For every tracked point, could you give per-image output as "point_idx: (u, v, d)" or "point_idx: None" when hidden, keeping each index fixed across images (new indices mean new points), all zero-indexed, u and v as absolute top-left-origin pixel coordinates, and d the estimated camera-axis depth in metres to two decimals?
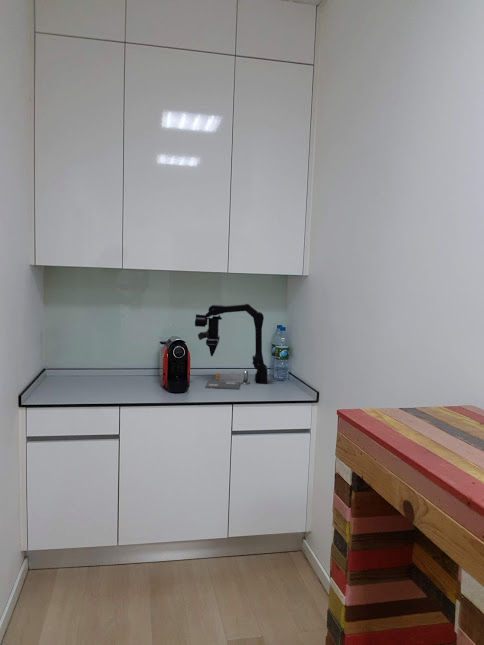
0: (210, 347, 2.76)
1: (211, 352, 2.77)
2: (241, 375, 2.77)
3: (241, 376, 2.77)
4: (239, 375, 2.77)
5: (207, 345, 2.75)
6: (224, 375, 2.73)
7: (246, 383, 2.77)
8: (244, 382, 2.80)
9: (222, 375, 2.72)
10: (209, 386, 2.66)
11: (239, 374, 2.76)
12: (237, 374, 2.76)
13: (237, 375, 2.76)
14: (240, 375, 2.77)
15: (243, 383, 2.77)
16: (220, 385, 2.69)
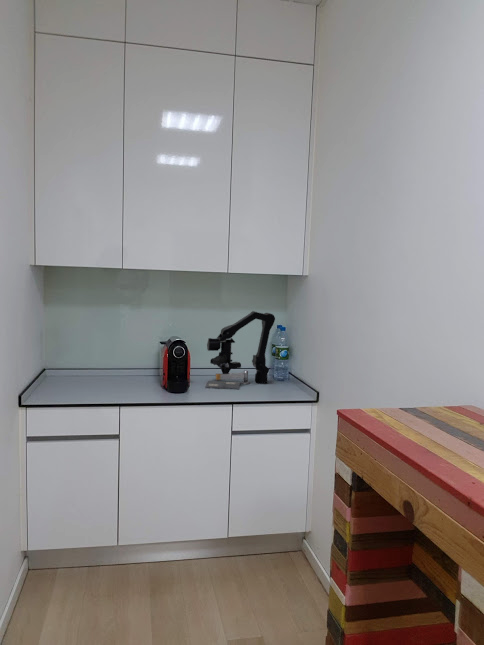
0: (226, 370, 2.75)
1: None
2: (241, 375, 2.77)
3: (241, 376, 2.77)
4: (239, 375, 2.77)
5: (225, 368, 2.73)
6: (224, 375, 2.73)
7: (246, 383, 2.77)
8: (244, 382, 2.80)
9: (222, 375, 2.72)
10: (209, 386, 2.66)
11: (239, 374, 2.76)
12: (237, 374, 2.76)
13: (237, 375, 2.76)
14: (240, 375, 2.77)
15: (243, 383, 2.77)
16: (220, 385, 2.69)
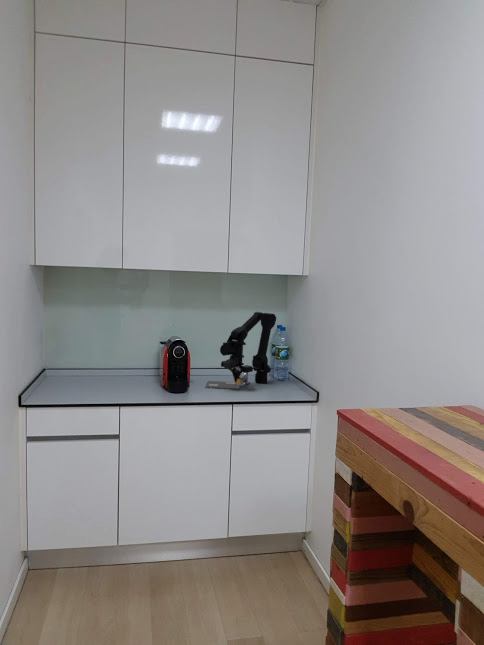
0: (237, 373, 2.67)
1: (236, 378, 2.68)
2: (246, 376, 2.76)
3: (246, 377, 2.76)
4: (245, 376, 2.75)
5: (236, 372, 2.65)
6: (242, 379, 2.66)
7: (246, 383, 2.77)
8: (244, 382, 2.80)
9: (241, 379, 2.65)
10: (209, 386, 2.66)
11: (245, 375, 2.74)
12: (245, 375, 2.73)
13: (245, 376, 2.73)
14: (245, 376, 2.75)
15: (243, 383, 2.77)
16: (220, 385, 2.69)
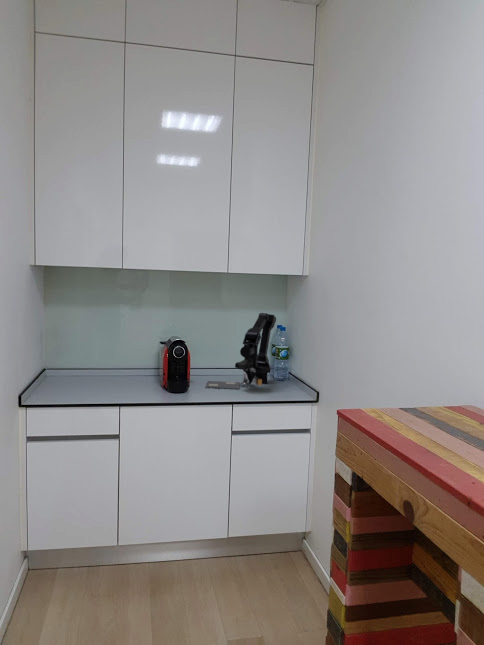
0: (252, 374, 2.65)
1: (251, 379, 2.66)
2: None
3: None
4: None
5: (251, 373, 2.63)
6: None
7: (246, 383, 2.77)
8: (244, 382, 2.80)
9: None
10: (209, 386, 2.66)
11: None
12: None
13: None
14: None
15: (243, 383, 2.77)
16: (220, 385, 2.69)
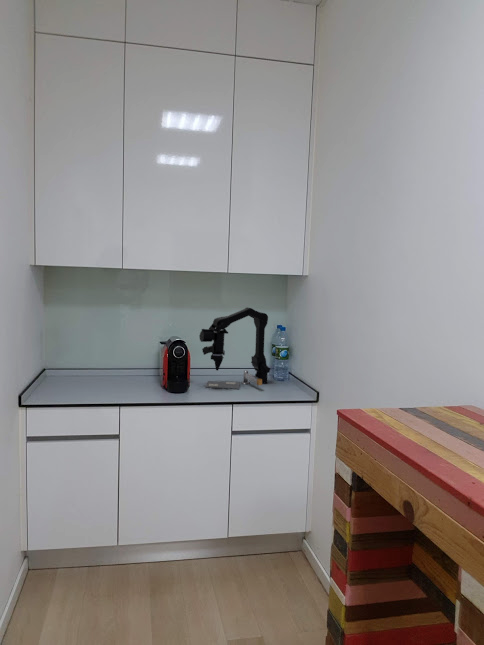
0: (215, 361, 2.67)
1: (216, 366, 2.68)
2: None
3: None
4: None
5: None
6: None
7: (246, 383, 2.77)
8: (244, 382, 2.80)
9: None
10: (209, 386, 2.66)
11: None
12: None
13: None
14: None
15: (243, 383, 2.77)
16: (220, 385, 2.69)
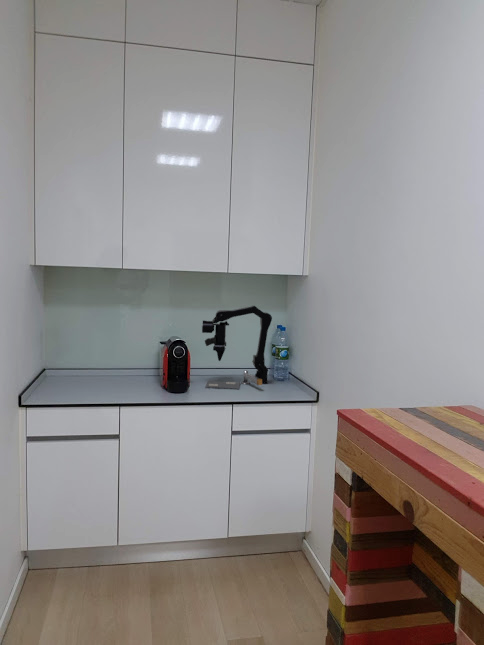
0: (218, 352, 2.77)
1: (219, 357, 2.78)
2: None
3: None
4: None
5: None
6: None
7: (246, 383, 2.77)
8: (244, 382, 2.80)
9: None
10: (209, 386, 2.66)
11: None
12: None
13: None
14: None
15: (243, 383, 2.77)
16: (220, 385, 2.69)
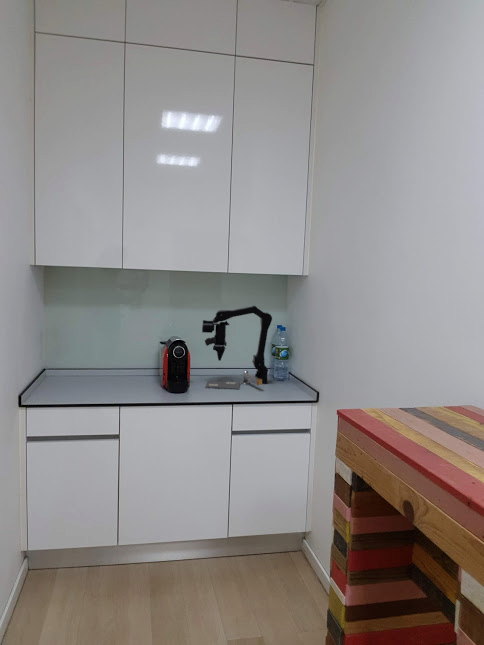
0: (218, 352, 2.77)
1: (219, 357, 2.78)
2: None
3: None
4: None
5: None
6: None
7: (246, 383, 2.77)
8: (244, 382, 2.80)
9: None
10: (209, 386, 2.66)
11: None
12: None
13: None
14: None
15: (243, 383, 2.77)
16: (220, 385, 2.69)
